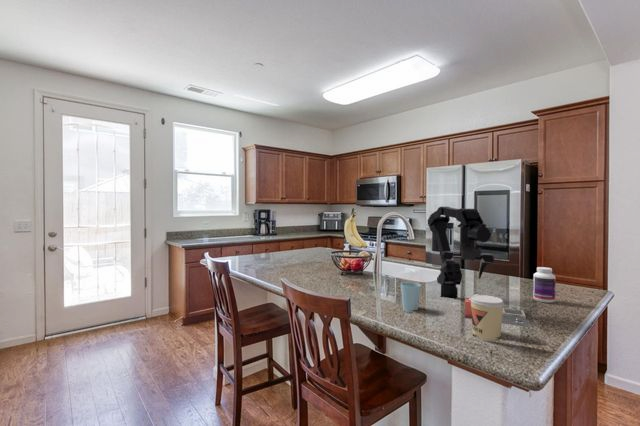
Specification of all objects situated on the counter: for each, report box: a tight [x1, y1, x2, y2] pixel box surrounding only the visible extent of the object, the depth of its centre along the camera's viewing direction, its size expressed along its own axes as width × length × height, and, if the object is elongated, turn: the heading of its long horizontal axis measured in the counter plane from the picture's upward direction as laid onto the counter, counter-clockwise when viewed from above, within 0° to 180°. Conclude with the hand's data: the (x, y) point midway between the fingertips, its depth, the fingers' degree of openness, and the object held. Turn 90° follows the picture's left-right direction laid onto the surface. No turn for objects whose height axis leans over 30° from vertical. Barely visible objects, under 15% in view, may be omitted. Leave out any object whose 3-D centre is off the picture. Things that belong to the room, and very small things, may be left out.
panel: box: [462, 306, 530, 328], centre depth 121 cm, size 20×20×2 cm
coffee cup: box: [470, 294, 505, 342], centre depth 102 cm, size 9×9×12 cm
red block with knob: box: [464, 297, 472, 316], centre depth 120 cm, size 4×4×6 cm
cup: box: [400, 281, 422, 314], centre depth 127 cm, size 8×8×10 cm
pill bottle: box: [532, 266, 557, 304], centre depth 142 cm, size 8×8×14 cm
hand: (466, 277), depth 132 cm, fingers open, 9 cm apart
